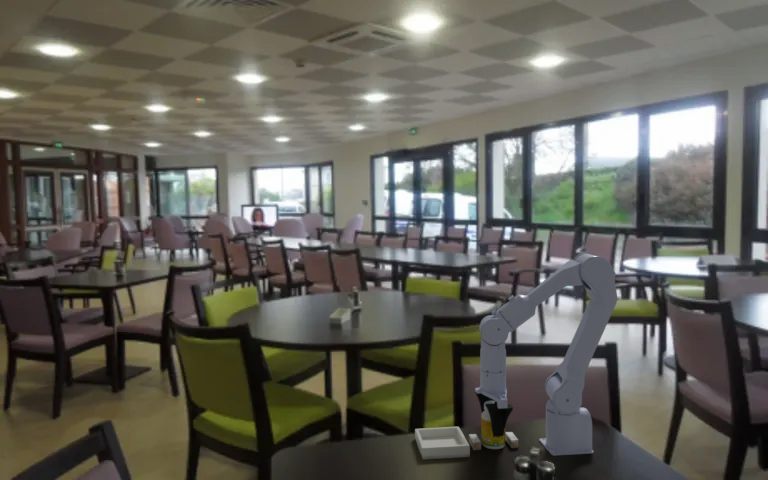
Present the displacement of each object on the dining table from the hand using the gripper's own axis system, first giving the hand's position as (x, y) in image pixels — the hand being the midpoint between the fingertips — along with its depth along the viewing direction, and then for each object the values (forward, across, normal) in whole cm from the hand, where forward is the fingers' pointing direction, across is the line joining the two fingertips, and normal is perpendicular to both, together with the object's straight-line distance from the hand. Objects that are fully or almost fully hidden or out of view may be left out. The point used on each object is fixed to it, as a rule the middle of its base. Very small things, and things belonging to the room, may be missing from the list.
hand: (493, 428), depth 123 cm
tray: (+4, 0, -12) cm, 13 cm away
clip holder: (+4, 0, 0) cm, 4 cm away
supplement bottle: (+4, 0, 0) cm, 4 cm away
